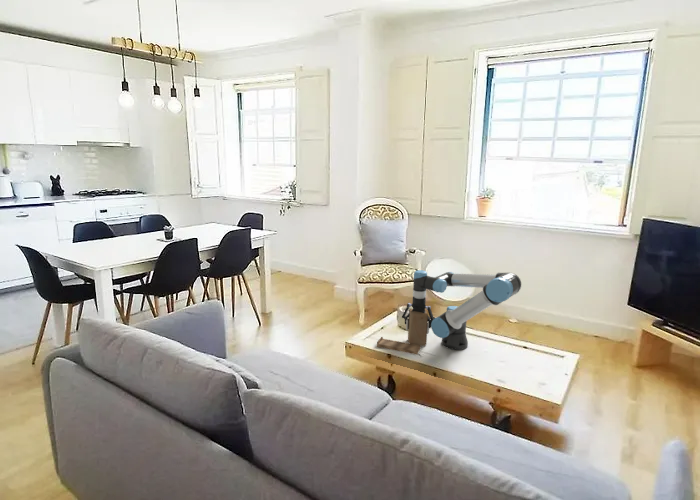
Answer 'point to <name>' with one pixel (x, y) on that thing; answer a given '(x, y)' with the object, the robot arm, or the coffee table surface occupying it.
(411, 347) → the plank
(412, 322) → the wooden block
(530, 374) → the coffee table surface
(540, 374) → the coffee table surface
